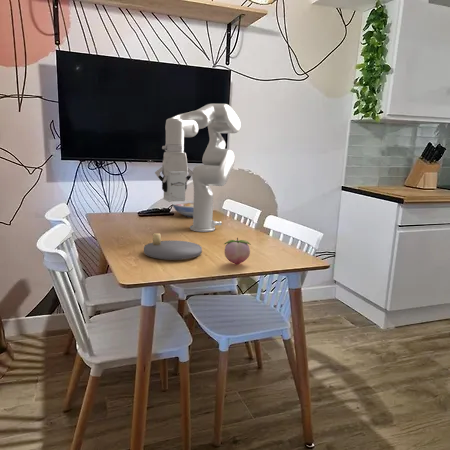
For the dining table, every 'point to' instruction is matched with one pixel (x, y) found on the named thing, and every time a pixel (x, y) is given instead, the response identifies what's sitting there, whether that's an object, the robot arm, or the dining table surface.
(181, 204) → the ramen bowl
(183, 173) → the supplement box
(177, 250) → the disc
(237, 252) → the decorative fruit
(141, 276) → the dining table surface
